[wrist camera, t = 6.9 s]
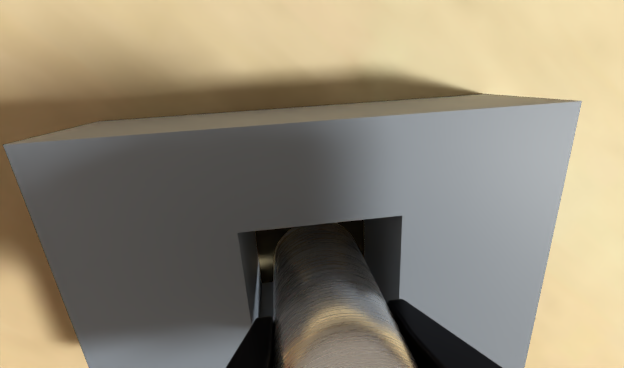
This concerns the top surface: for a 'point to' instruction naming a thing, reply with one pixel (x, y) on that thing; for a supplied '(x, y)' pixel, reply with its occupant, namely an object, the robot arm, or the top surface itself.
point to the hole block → (297, 216)
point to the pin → (330, 305)
